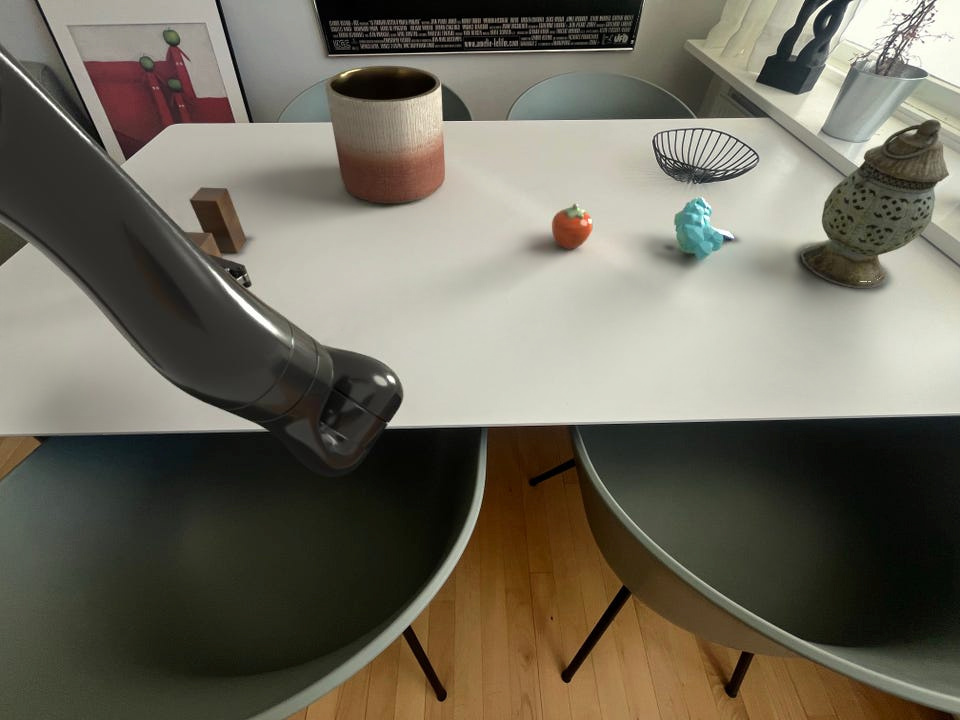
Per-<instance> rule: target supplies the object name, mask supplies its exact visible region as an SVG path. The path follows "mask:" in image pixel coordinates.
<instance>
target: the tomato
mask: <svg viewBox="0 0 960 720" xmlns="http://www.w3.org/2000/svg"><path fill="white" fill-rule="evenodd" d="M593 225H594V224H593V219H592V217H591V216H590V214H588V212H586V211H585V209H584V208H581V207H579V204H578V203H573V204H572V205H571V206H569V207H566V208H564V209H561V210H559V211H558V212H556V214H555V215H554V216H553V218H552V220H551V232H552V236H553V239H554V240H555V241H556V243H557V244H558V245H559V246H560V247H562V248H565V249H576V248H577V249H578V247H581V246H582V245H583V244H584V243H585V242H586V241H587V240H588V239H589V237H590V235H591V233H592V231H593Z"/></svg>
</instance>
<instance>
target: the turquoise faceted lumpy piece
mask: <svg viewBox="0 0 960 720" xmlns="http://www.w3.org/2000/svg"><path fill="white" fill-rule="evenodd" d="M711 215H712V207H711V206H710V205H709V204H708V203H707V202H706V200H705V199H704V198H703V197H701V196H699V197H696V198H692V199H691V201H688V202H686V203H685V206H684V207H683V209H682V210H681V211H679V212H677V213H675V214H674V219H673V224H674V226H675V230H674V231H675V232H676V234H675V236H676V238H675V239H676V240H677V242H678V243H679V246H680V247H679V248H680V251H682V252H683V253H685V254H689V255H692V254H694V255H695V256H696V257H697V259H698V260H700V261H702V260H704V259H705V258H707V257H709V256H710V255H711V254H712V252H717V251H719V250H720V249H721V247H722V245H723V243H724V238H725V239H729V240H735V237H734V236H733V234H732V233H731V232H730V231H727V230H723V229H718V228H715V227H713V226H712V225H710V222H711V221H710V217H711Z"/></svg>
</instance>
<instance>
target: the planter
mask: <svg viewBox="0 0 960 720" xmlns="http://www.w3.org/2000/svg"><path fill="white" fill-rule="evenodd" d="M324 86H325V94H326V99H327V103H328V108H329V114H330V120H331V126H332V130H333V137H334V142H335V148H336V154H337V159H338V160H337V161H338V166H339V172H340V177H341V180H342V184H343V187H344V188H345V190H347V192H349V193H350V194H352V195H353V196H355V197H357V198H359V199H361V200H364V201H368V202H371V203H376V204H384V205H396V204H397V205H399V204H407V203H411V202H416V201H419V200H423V199H424V198H426V197H427V198H428V196H431V195H432V194H434V193H435V192H436V191H438V190H439V189H440V188H441V187H442V186H443V184H444V181H445V177H446V161H445V140H444V139H445V138H444V122H443V121H444V120H443V101H442V100H443V97H442V95H443V94H442V81H441V79H440V78H439V77H438V76H437V75H435V74H434V73H431V72H430V71H427V70H424V69H422V68H421V69H420V68H416V67H411V66H404V65H403V66H402V65H371V66H370V65H369V66H362V67H356V68H351V69H348V70H344V71H341V72H338V73H336V74H334V75H332V76H331V77H329V78H328V79H327V80H326V82H325V85H324Z"/></svg>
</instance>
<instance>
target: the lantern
mask: <svg viewBox="0 0 960 720" xmlns="http://www.w3.org/2000/svg"><path fill="white" fill-rule="evenodd" d="M941 129H942V125H941V122H940V121H939V120H937V119H933V118H932V119H927V120H925V121H922V122H921V123H920V124H915V125H914V124H913V125H911V126H908V127H905V128H903V129H900V130H897V131H896V132H894V133H893V134H890V136H889V137H887V138H886V139H885V141H884V142H883V143H882V144H880V145H877V146H873V147H871V148H870V149H868V150H866V151H865V152H864V155H863V160H864V161H863V162H862V163H861V164H860V166H859V167H857V168H856V169H855V170H854V171H852V172H851V173H850V174H849V175H847V176H846V177H845V178H844V179H843V180H842V181H840V182H839V183H838V184H837V185H835V187H834V188H833V189H832V191H831V192H830V193H829V195H828V196H827V198H826V200H825V201H824V204H823V208H822V215H821V226H822V229H823V231H824V233H825V234H826V236H827V238H828V239H826V240H823V241H819V242H815V243H811V244H809V245H807V246H806V247H804V248H803V250H802V251H801V255H800V257H801V261H802V263H803V264H804V265H805V266H806V267H807V268H808V269H809V270H810V271H811V272H812V273H814V274H815V275H817V276H818V277H820V278H822V279H823V280H826V281H828V282H830V283H833V284H836V285H840V286H843V287H848V288H853V289H871V288H876V287H878V286H880V285H881V284H882V283H883V282H884V281H885V279H886V275H887V272H886V271H885V269H884V267H883V265H882V264H881V262H880V259H879V256H880V255H883V254H887V253H890V252H893V251H897V250H900V249H902V248H903V247H905V246H906V245H908V244H910V242H912V241H914V240H915V239H917V238H918V237H920V236H921V235H922V233H923V232H924V231H925V229H926V228H927V227H928V226H929V224H930V223H931V222H932V218H933V213H934V209H935V203H936V193H935V188H936V186H937V184H938V183H939V182H942V181H943V180H944V179H946V178H948V176H949V175H950V173H949V171H948V168H947V167H948V166H947V164H946V161H945V159H944V143H942V142H941V141H939V140H938V139H939V133H940V131H941ZM911 131H915V132H911ZM881 265H882V266H881ZM882 267H883V268H882ZM883 270H884V273H883ZM882 275H883V276H882ZM881 276H882V277H881ZM880 277H881V278H880ZM879 278H880V279H879ZM877 279H878V280H877ZM860 281H867V282H860ZM868 281H871V282H868Z"/></svg>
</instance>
